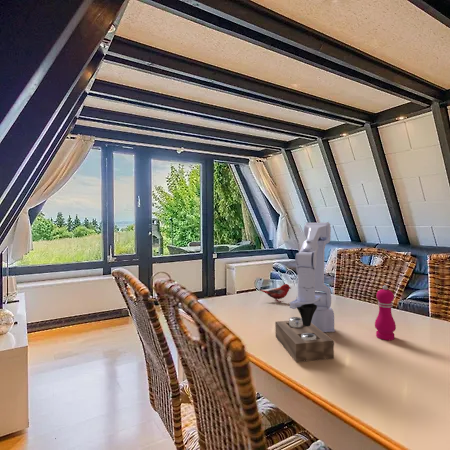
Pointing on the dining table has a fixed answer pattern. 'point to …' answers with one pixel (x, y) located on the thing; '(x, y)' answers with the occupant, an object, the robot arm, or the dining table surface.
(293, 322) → the knob
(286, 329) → the housing
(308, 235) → the robot arm
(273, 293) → the decorative bird figurine
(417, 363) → the dining table surface
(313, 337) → the knob
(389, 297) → the pepper mill
